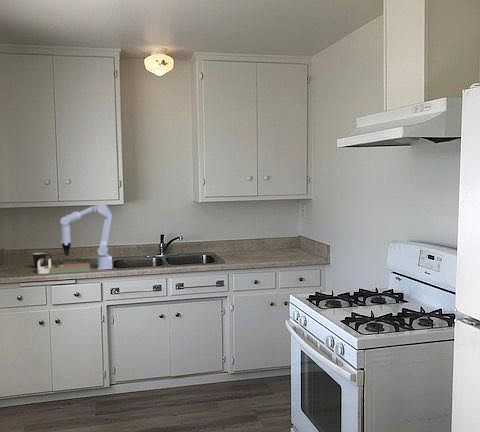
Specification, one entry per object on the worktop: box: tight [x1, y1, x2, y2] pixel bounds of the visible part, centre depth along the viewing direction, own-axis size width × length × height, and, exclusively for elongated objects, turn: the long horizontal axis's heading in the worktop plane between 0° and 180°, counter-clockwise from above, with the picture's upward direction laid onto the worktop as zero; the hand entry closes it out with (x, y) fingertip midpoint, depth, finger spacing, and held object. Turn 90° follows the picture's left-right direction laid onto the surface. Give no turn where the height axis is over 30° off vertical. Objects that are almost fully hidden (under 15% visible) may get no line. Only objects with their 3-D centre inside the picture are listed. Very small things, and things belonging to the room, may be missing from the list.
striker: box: [57, 256, 64, 267], centre depth 333 cm, size 3×6×8 cm, turn 18°
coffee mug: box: [32, 252, 52, 270], centre depth 349 cm, size 12×9×10 cm
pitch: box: [37, 258, 91, 275], centre depth 334 cm, size 32×12×8 cm, turn 108°
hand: (66, 254), depth 338 cm, fingers open, 7 cm apart
